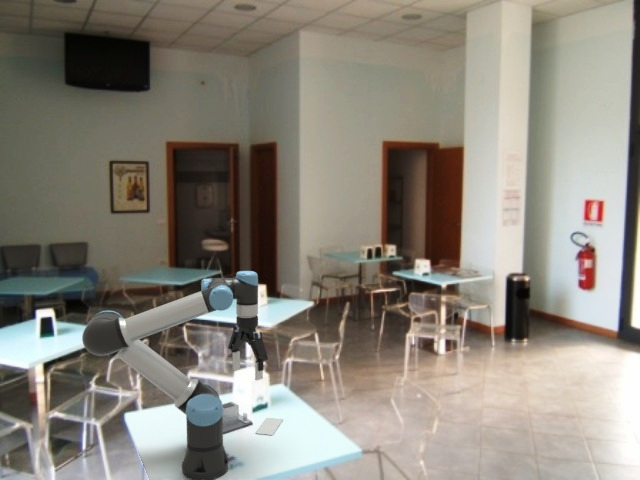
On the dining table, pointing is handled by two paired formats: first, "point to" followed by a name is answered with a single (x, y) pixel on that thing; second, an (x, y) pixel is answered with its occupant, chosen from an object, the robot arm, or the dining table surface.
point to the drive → (230, 414)
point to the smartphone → (269, 426)
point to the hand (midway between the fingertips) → (247, 374)
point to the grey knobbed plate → (238, 424)
